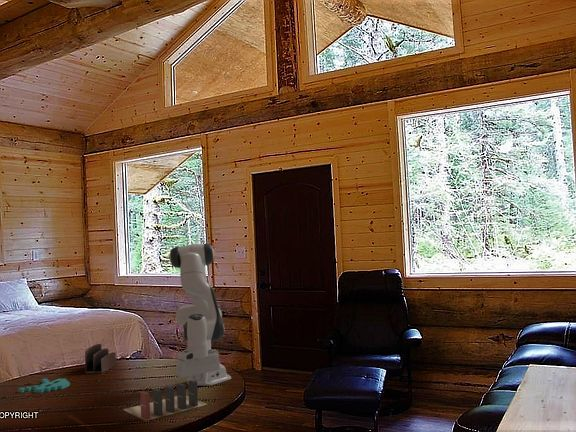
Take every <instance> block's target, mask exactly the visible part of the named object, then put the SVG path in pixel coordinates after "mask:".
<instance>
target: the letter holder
mask: <svg viewBox="0 0 576 432" xmlns="http://www.w3.org/2000/svg"><path fill="white" fill-rule="evenodd" d="M84 356H85V357H84V359H85V360H84V367H85V369H84V373H85V374H86V375H88V374H89V375H90V374H103V373H105V372H107V371H108V370H110V369H112V368H114V367H115V366H117V356H116V352H115V351H114V352H109V348H106V347H105V348H103V349H102V344H101V343H95V344H94V345H92V346H90V347H88V348H87V349H86V350H85V351H84Z"/></svg>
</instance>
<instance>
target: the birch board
mask: <svg viewBox="0 0 576 432" xmlns="http://www.w3.org/2000/svg"><path fill="white" fill-rule="evenodd" d="M174 404H175V412H173V413H171V412H168V411H166V404H165V398H162V410H163V415H161V416H158V415H156V414H154V410H153V401H152V402H150V419H145V418H143V417H141V404H140V405H136V406H132V407H127V408H123V409H122V410H123V411H125V412H127V413H129V414H131V415H133V416H135V417H136V418H138V419H141V420H143V422H148V421H150V420H155V419H158V418H163V417H166V416H171V415H174V414H177V413H181V412H184V411H188V410H189V411H190V410H192V409H196V408H201V407H203V406H206V405H208V403H206V402H204V401H201V400H198V406H195V407H194V406H192V405H189V395H186V407H187V409H184V410H183V409H180V408H178V407H177V395H176V396H174Z"/></svg>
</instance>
